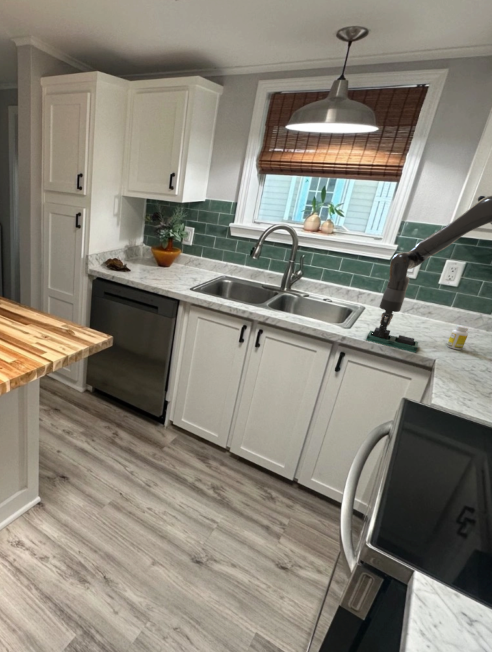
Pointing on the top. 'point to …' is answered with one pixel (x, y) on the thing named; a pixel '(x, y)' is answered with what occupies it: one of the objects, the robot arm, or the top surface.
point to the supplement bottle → (458, 337)
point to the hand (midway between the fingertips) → (380, 335)
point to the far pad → (384, 334)
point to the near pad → (405, 340)
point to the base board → (392, 342)
